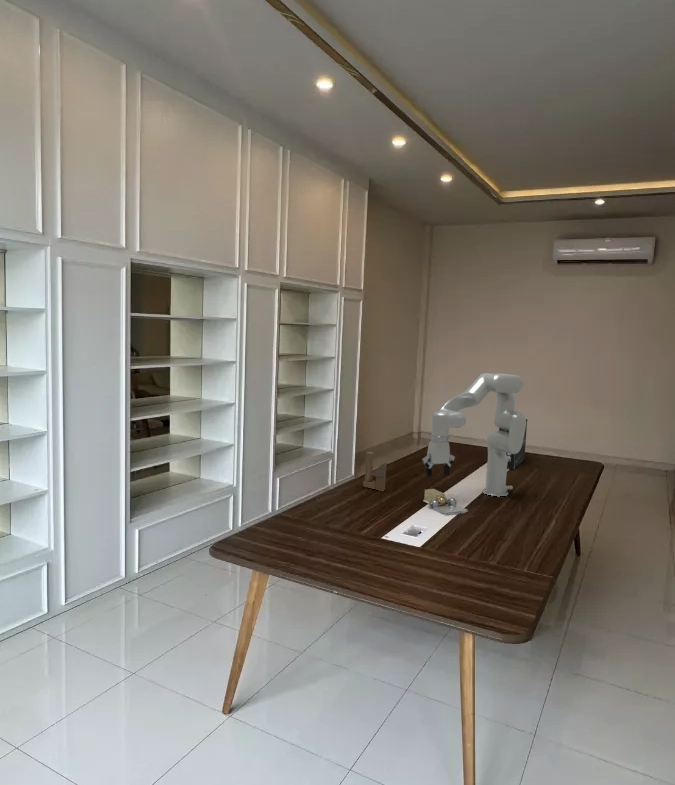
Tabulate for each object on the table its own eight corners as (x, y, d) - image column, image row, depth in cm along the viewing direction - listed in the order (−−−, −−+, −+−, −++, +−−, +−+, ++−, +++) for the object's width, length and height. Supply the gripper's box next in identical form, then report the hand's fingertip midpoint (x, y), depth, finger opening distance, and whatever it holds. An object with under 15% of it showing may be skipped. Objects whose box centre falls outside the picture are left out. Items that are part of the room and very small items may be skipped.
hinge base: (452, 504, 265) (453, 496, 264) (469, 512, 254) (469, 504, 254) (427, 507, 259) (428, 499, 258) (443, 515, 248) (444, 507, 248)
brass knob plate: (432, 499, 271) (433, 488, 271) (448, 506, 261) (448, 495, 260) (424, 500, 269) (424, 489, 269) (439, 507, 259) (439, 496, 258)
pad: (435, 499, 271) (435, 499, 271) (447, 505, 263) (447, 505, 263) (422, 500, 268) (422, 500, 268) (434, 507, 260) (434, 506, 260)
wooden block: (381, 492, 280) (383, 455, 278) (362, 487, 286) (364, 452, 284) (385, 490, 283) (387, 454, 281) (366, 486, 289) (368, 451, 287)
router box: (507, 457, 375) (510, 416, 372) (524, 459, 370) (528, 418, 367) (495, 467, 343) (498, 423, 341) (514, 470, 338) (517, 425, 335)
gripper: (450, 436, 269) (448, 472, 271) (419, 438, 262) (417, 475, 264) (460, 439, 263) (458, 475, 265) (428, 441, 255) (426, 479, 257)
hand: (437, 475), depth 264 cm, fingers open, 9 cm apart
